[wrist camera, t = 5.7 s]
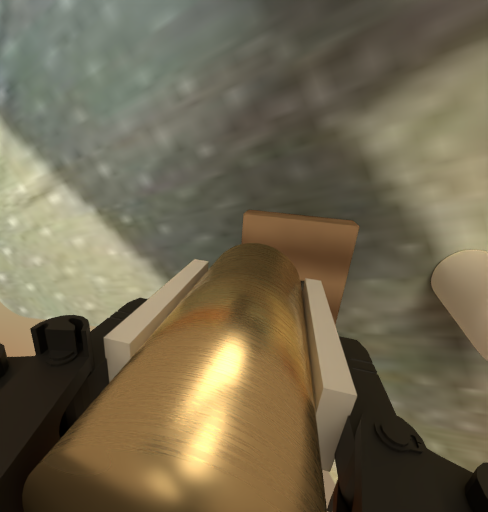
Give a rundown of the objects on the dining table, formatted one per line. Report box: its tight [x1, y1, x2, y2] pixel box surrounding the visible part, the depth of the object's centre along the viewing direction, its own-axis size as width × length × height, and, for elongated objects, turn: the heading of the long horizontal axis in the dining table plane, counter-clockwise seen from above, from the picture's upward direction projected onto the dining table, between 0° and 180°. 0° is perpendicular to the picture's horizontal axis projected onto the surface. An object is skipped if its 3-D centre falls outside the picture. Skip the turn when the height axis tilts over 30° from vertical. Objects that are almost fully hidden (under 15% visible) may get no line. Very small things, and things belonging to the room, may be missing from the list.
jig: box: [242, 210, 360, 324], centre depth 29 cm, size 20×12×5 cm, turn 176°
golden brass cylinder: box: [22, 243, 327, 512], centre depth 8 cm, size 5×5×10 cm
